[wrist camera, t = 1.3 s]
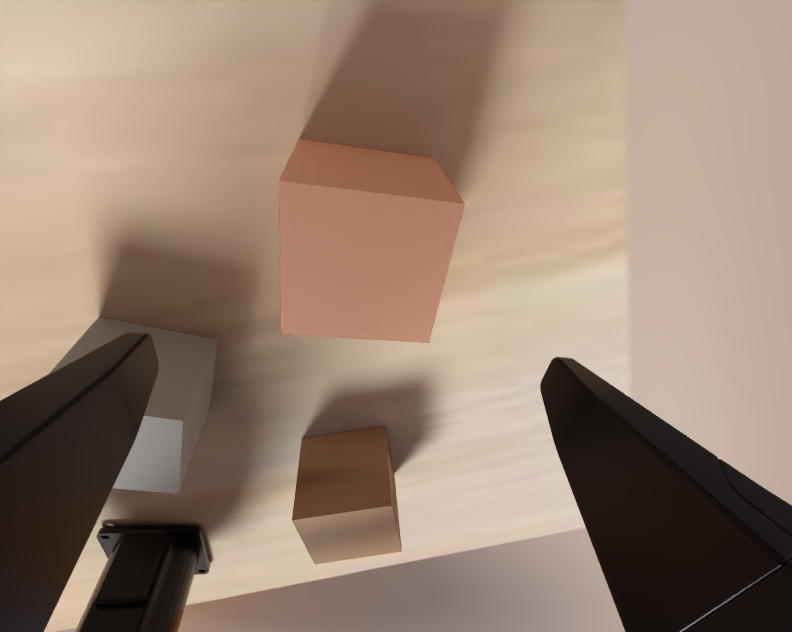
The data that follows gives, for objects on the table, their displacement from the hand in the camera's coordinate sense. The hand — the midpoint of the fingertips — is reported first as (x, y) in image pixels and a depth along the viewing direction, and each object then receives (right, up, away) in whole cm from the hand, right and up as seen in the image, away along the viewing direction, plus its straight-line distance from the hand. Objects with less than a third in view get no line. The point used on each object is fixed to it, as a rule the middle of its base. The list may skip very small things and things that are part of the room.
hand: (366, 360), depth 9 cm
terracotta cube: (-1, +5, +7) cm, 9 cm away
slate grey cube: (-11, -1, +11) cm, 15 cm away
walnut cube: (-2, -8, +16) cm, 18 cm away
